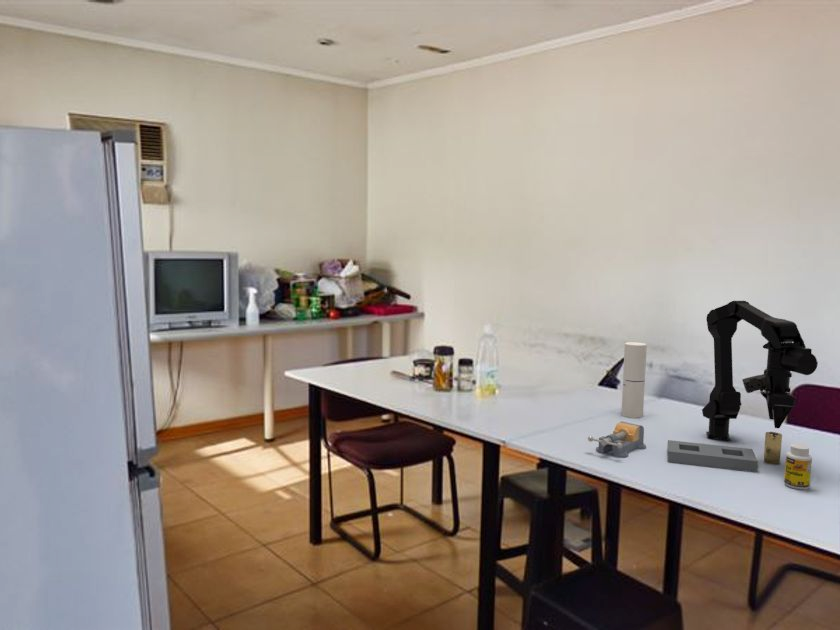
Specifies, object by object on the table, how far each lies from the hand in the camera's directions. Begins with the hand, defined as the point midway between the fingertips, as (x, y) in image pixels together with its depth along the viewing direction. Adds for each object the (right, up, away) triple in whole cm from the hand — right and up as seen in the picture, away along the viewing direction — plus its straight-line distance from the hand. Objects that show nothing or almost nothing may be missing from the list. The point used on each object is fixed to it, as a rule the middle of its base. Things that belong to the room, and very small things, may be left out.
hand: (774, 423), depth 184 cm
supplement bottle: (-3, -13, -17) cm, 21 cm away
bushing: (0, -11, +1) cm, 11 cm away
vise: (-40, -10, +10) cm, 42 cm away
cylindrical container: (-24, -5, +48) cm, 54 cm away
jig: (-17, -11, +2) cm, 20 cm away
